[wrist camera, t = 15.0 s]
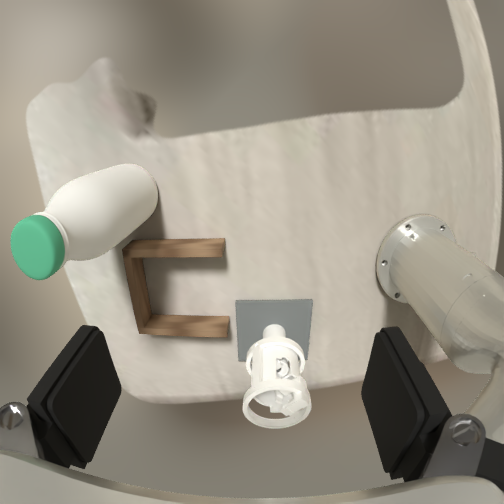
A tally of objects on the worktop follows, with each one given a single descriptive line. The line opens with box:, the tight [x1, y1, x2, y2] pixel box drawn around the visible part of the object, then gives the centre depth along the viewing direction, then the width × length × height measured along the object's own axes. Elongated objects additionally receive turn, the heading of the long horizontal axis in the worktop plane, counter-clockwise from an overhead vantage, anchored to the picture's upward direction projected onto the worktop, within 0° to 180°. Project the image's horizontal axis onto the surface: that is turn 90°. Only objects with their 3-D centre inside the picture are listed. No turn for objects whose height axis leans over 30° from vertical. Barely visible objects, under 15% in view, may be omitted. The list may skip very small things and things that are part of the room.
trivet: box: [236, 299, 313, 361], centre depth 43 cm, size 10×10×1 cm
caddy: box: [122, 238, 230, 337], centre depth 39 cm, size 12×12×4 cm
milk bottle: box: [11, 164, 158, 280], centre depth 27 cm, size 8×8×20 cm
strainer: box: [243, 324, 312, 429], centre depth 35 cm, size 7×7×15 cm
